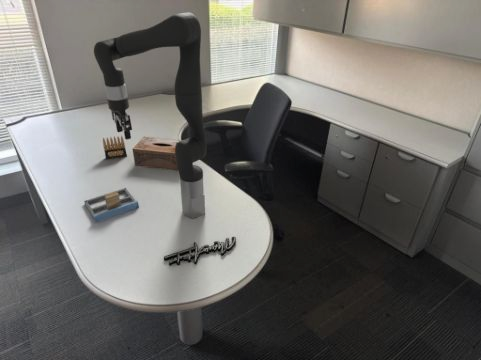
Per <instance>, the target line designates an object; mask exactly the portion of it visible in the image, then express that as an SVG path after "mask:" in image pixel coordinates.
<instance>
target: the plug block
mask: <svg viewBox="0 0 481 360" xmlns="http://www.w3.org/2000/svg"><path fill="white" fill-rule="evenodd" d="M103 195H104V197H105V199H104V200H105V204H106V205H107V208H106V209H107V211H108V210H111V209H114V208H117V207H119V206H122V203H120V199H121V198H120V194H118V192H117V190H115V191H111V192H108V193H104V194H103Z"/></svg>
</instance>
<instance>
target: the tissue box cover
mask: <svg viewBox="0 0 481 360" xmlns="http://www.w3.org/2000/svg"><path fill="white" fill-rule="evenodd" d="M180 141H182V140H181V139H173V138H172V139H171V138H163V137H154V136H153V137H152V136H145V135H144V136H143V137H142V138H141V139H140V140H139V141H138V142H137V144H136V145H134V146H133V147H132V155H133V160H134V166H135V167H142V168H143V167H144V168H154V169H160V168H161V169H162V170H169V169H170V170H171V171H178V169H177V162H176V155H175V146H176V144H177V143H178V142H180Z"/></svg>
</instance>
